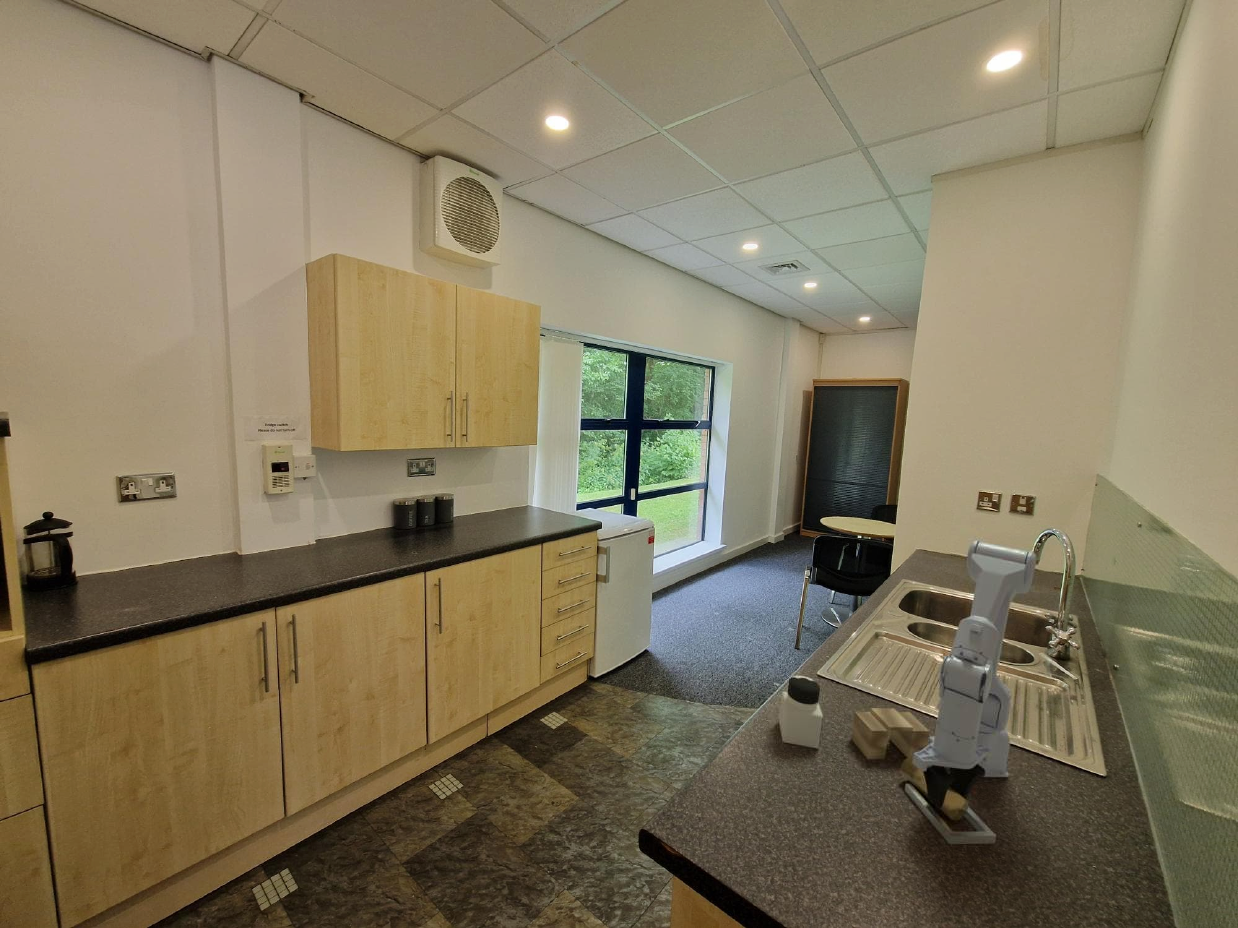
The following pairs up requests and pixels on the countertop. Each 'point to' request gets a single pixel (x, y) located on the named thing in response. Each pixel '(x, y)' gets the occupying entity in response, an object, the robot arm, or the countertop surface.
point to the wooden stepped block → (876, 726)
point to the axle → (953, 801)
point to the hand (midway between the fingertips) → (945, 801)
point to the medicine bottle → (801, 713)
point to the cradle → (951, 837)
